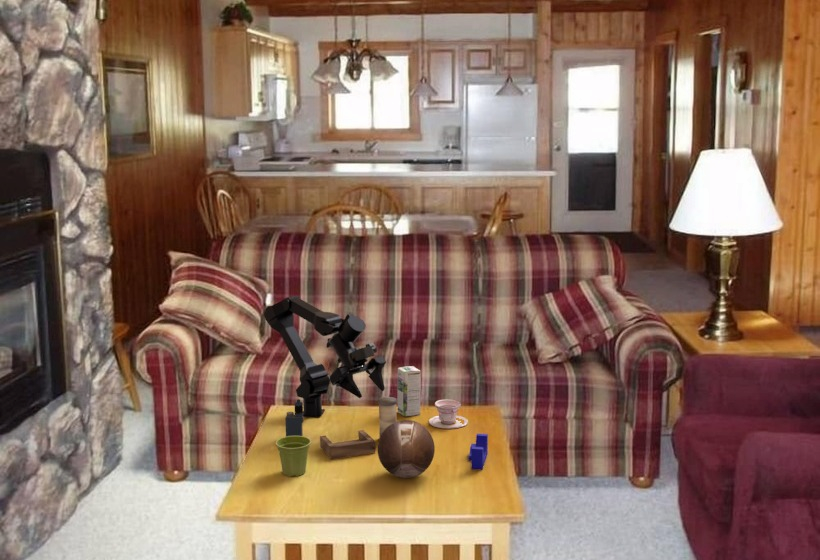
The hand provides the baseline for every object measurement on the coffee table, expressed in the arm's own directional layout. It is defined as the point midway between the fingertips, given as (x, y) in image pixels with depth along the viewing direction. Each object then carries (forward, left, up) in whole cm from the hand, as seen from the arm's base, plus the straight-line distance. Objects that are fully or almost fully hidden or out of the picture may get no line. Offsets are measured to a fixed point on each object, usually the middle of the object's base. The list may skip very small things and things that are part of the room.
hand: (372, 393), depth 295 cm
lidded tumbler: (+4, +5, -12) cm, 14 cm away
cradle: (+14, -5, -12) cm, 19 cm away
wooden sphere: (+31, +14, -13) cm, 36 cm away
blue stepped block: (+18, +32, -13) cm, 39 cm away
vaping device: (+7, -22, -13) cm, 26 cm away
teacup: (-13, +21, -13) cm, 28 cm away
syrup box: (-20, +8, -13) cm, 25 cm away
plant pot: (+32, -16, -13) cm, 38 cm away
